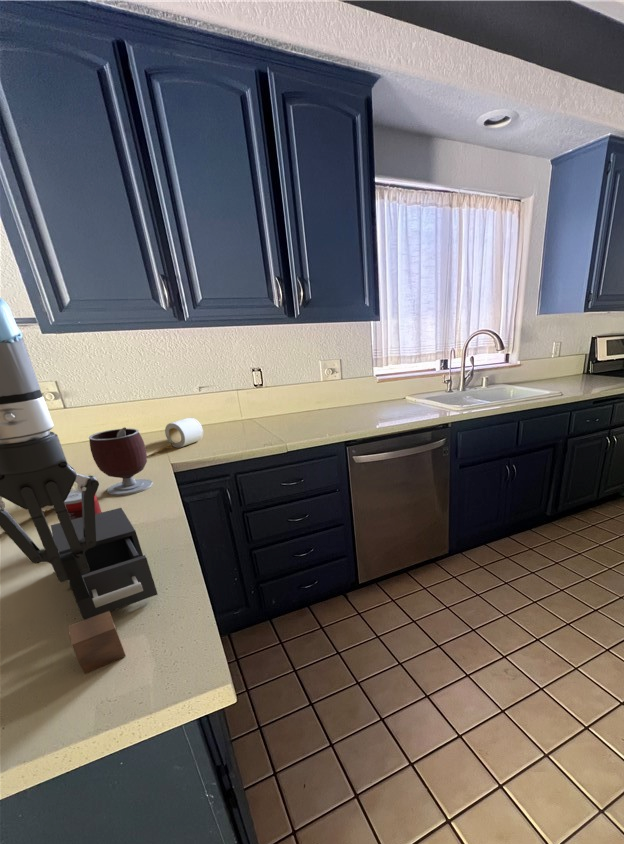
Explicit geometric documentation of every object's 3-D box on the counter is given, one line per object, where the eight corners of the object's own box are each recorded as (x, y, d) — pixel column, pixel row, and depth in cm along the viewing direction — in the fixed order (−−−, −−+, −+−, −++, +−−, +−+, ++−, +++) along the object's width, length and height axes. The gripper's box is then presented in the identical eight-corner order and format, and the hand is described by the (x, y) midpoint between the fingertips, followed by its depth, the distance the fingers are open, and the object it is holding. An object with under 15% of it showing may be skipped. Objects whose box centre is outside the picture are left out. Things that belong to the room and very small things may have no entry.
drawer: (164, 606, 75) (152, 568, 72) (87, 636, 69) (71, 595, 65) (141, 565, 88) (130, 531, 85) (75, 586, 82) (60, 550, 78)
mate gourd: (97, 490, 131) (75, 426, 123) (142, 477, 141) (125, 416, 133) (119, 501, 123) (97, 433, 114) (166, 486, 133) (149, 422, 124)
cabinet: (148, 572, 87) (135, 530, 83) (74, 597, 80) (56, 552, 76) (133, 546, 98) (121, 507, 94) (67, 566, 91) (50, 525, 87)
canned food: (95, 527, 107) (81, 486, 103) (116, 533, 104) (102, 491, 99) (64, 541, 101) (47, 498, 97) (84, 547, 98) (68, 503, 93)
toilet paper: (186, 440, 183) (181, 416, 179) (205, 441, 180) (200, 418, 175) (168, 446, 175) (162, 422, 170) (187, 448, 171) (181, 423, 167)
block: (84, 674, 63) (71, 645, 60) (79, 653, 66) (67, 625, 64) (126, 656, 66) (115, 628, 63) (119, 637, 70) (109, 610, 67)
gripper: (-57, 453, 46) (28, 627, 56) (85, 431, 53) (137, 588, 63) (-51, 440, 51) (26, 601, 61) (77, 422, 58) (127, 568, 68)
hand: (82, 595), depth 62 cm, fingers closed
